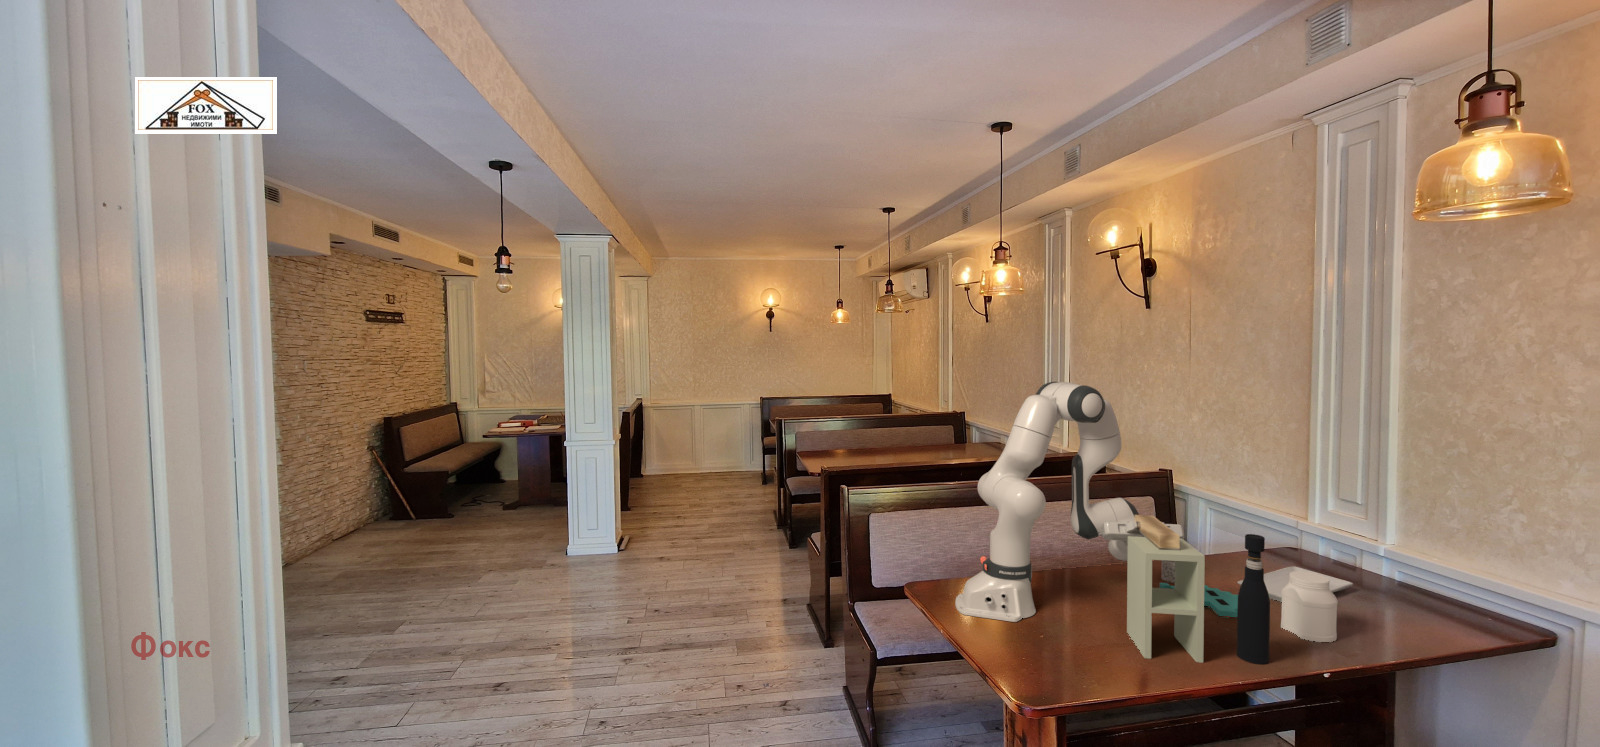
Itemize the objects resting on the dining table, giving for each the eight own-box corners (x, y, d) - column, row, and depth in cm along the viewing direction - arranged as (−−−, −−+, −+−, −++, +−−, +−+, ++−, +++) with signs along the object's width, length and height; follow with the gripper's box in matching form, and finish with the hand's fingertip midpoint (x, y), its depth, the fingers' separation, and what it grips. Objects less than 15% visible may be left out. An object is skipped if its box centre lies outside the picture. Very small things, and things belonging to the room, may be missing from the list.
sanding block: (1159, 549, 157) (1159, 535, 157) (1134, 527, 175) (1134, 514, 175) (1179, 550, 156) (1179, 535, 156) (1152, 528, 175) (1152, 515, 174)
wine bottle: (1230, 652, 158) (1232, 532, 156) (1254, 651, 158) (1256, 531, 157) (1250, 665, 151) (1252, 540, 150) (1275, 663, 152) (1278, 539, 151)
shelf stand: (1144, 658, 155) (1145, 553, 154) (1126, 632, 169) (1127, 536, 168) (1203, 662, 153) (1204, 556, 152) (1180, 636, 167) (1181, 538, 165)
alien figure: (1184, 616, 180) (1264, 621, 176) (1184, 608, 180) (1264, 613, 176) (1159, 589, 200) (1230, 593, 196) (1159, 582, 200) (1230, 586, 195)
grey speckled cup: (1187, 584, 202) (1187, 564, 202) (1163, 582, 204) (1163, 561, 204) (1180, 574, 211) (1181, 554, 211) (1158, 571, 214) (1158, 552, 214)
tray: (1355, 593, 194) (1355, 582, 194) (1297, 612, 181) (1297, 600, 181) (1292, 575, 210) (1293, 565, 210) (1235, 592, 196) (1235, 581, 196)
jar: (1345, 642, 162) (1346, 584, 162) (1309, 643, 162) (1310, 585, 161) (1306, 622, 174) (1307, 568, 173) (1273, 624, 173) (1274, 569, 173)
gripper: (1094, 524, 186) (1106, 511, 174) (1171, 527, 182) (1188, 514, 170) (1097, 546, 183) (1109, 534, 171) (1175, 549, 179) (1193, 538, 167)
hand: (1149, 524), depth 170 cm, fingers closed on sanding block, 4 cm apart
